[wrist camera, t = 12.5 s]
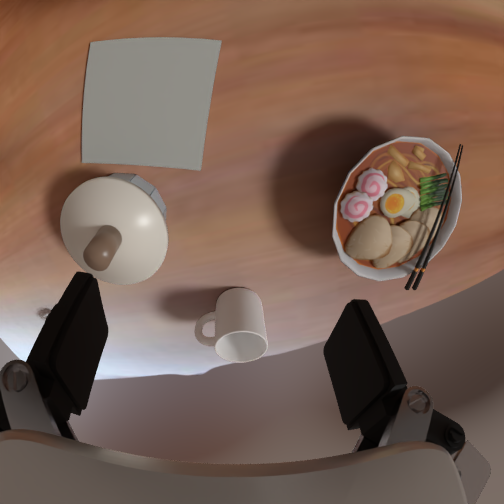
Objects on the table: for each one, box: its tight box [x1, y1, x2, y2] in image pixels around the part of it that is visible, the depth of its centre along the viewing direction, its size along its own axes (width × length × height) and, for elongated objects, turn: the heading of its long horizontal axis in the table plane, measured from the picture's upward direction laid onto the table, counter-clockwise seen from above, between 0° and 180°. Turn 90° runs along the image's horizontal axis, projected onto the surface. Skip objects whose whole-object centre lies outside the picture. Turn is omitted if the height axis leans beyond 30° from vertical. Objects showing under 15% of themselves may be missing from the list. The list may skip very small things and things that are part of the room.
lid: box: [60, 177, 169, 285], centre depth 32 cm, size 16×16×6 cm
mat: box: [82, 37, 222, 171], centre depth 31 cm, size 18×18×1 cm
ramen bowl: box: [332, 136, 463, 290], centre depth 37 cm, size 25×23×8 cm
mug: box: [195, 288, 268, 363], centre depth 46 cm, size 12×8×10 cm
